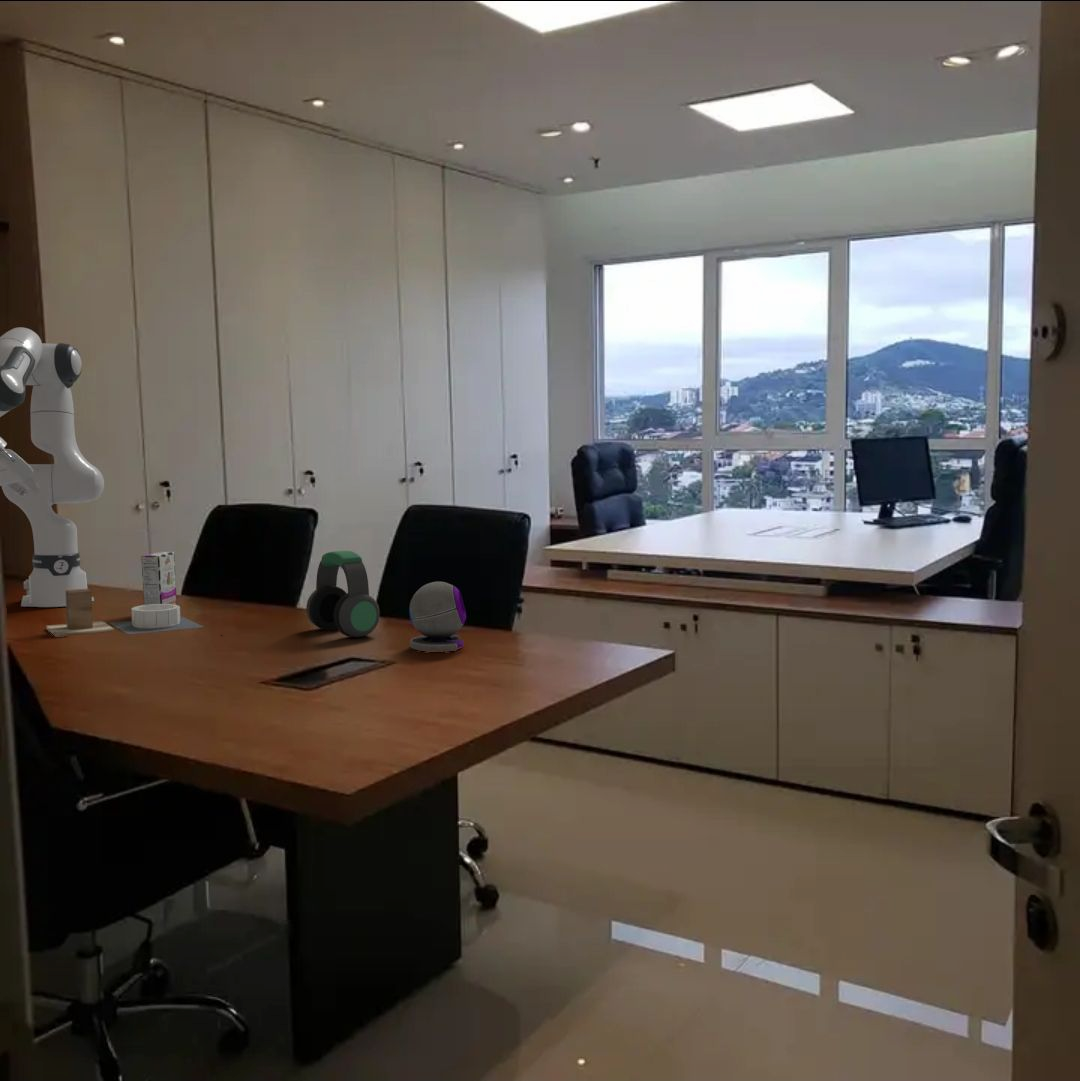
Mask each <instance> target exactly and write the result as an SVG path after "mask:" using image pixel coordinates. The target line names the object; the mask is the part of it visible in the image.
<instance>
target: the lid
mask: <svg viewBox="0 0 1080 1081" xmlns="http://www.w3.org/2000/svg"><path fill="white" fill-rule="evenodd" d="M65 593H66V606H65V611H66V612H65V614H66V616H65V618H66V623H61V624H51V625H45V629H47V630H48V631H47V630H46V631H47V632H48V633H50V632H51V633H52V634H53V635H54V636H55V637H62V638H68V637H67V636H74V635H84V634H85V635H87V634H97V633H99V634H100V633H111V632H114V631H115V628H113V627H112V626H111V625H110V624H107V623H106V622H105V621H104V620H99V621H98V620H96V621H94V620H93V619H94V618H93V601H92V597H93V596H92V590H91V589H89V588H87V589H73V590H65ZM51 633H50V634H51ZM52 634H51V635H52ZM53 635H52V636H53ZM54 636H53V637H54ZM64 636H66V637H64ZM55 637H54V638H55Z"/></svg>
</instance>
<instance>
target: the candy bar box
mask: <svg viewBox="0 0 1080 1081" xmlns="http://www.w3.org/2000/svg"><path fill="white" fill-rule="evenodd" d="M140 558H141V559H140V560H141V573H142V574H141V575H142V590H143V605H150V604H173V605H178V599H177V583H176V563H175V561H176V560H175V551H158V552H157V551H156V552H154V553H149V554H146V555H141V556H140Z"/></svg>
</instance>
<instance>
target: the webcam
mask: <svg viewBox="0 0 1080 1081" xmlns="http://www.w3.org/2000/svg"><path fill="white" fill-rule="evenodd" d="M408 611H409V618H410V621H411V624H412V626H413V627H414V628H415V629H416V631H417V632H419V633H420V634H421V635H418V636H415V637H412V638H411V639H410V641H409V648H410V647H411V648H413V649H417V650H422V651H449V650H456V649H457V648H459V647H462V646H463V645H465V644H464V641H463V640H461V637H460V635H457V633H458V632H459V631H460V630H461V629H462V627H463V625H464V624H465V622H466V619H467V613H466V607H465V604H464V600H463V597H462V594H461V591H460V590H459V589H458V588H457V587H456V586H455V585H453V584H450V583H448V582H445V581H433V582H429V583H426V584H424V585H422V586H421V587H420V588H419V589H418V590H417V591H416V592H415V593H414V594H413V596H412V598H411V600H410V602H409V609H408ZM411 648H410V649H411Z"/></svg>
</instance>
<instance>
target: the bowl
mask: <svg viewBox="0 0 1080 1081" xmlns="http://www.w3.org/2000/svg"><path fill="white" fill-rule="evenodd" d="M130 609H131V621H132V623H133V627H134V628H139V629H161V628H170V627H175V626H178V625H179V624H180V617H181V607H180V605H178V604H177V605H173V604H150V605H144V604H142V605H135V606H133V607H132V608H130Z"/></svg>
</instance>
